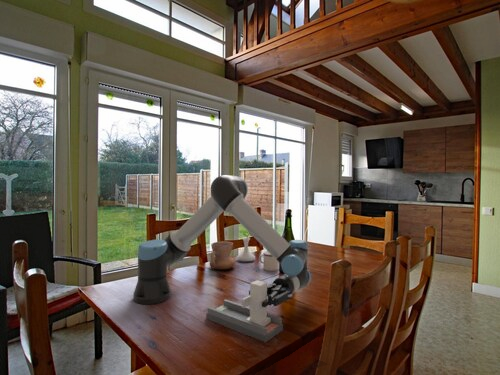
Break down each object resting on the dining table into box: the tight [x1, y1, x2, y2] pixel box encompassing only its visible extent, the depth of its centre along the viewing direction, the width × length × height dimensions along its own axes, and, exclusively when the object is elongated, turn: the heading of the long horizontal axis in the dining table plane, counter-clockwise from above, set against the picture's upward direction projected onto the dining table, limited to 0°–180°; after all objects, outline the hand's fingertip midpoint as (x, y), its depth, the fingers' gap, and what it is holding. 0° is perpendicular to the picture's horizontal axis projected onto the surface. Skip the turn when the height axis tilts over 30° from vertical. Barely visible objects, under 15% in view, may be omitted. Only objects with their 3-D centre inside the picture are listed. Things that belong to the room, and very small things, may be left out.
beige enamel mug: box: [258, 250, 280, 272], centre depth 169 cm, size 12×9×12 cm
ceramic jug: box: [209, 241, 236, 271], centre depth 168 cm, size 18×14×14 cm
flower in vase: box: [236, 232, 256, 262], centre depth 185 cm, size 13×11×25 cm
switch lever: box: [246, 279, 271, 326], centre depth 99 cm, size 6×6×13 cm
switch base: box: [205, 298, 284, 343], centre depth 103 cm, size 26×10×4 cm, turn 53°
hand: (248, 305), depth 94 cm, fingers closed on switch lever, 4 cm apart
